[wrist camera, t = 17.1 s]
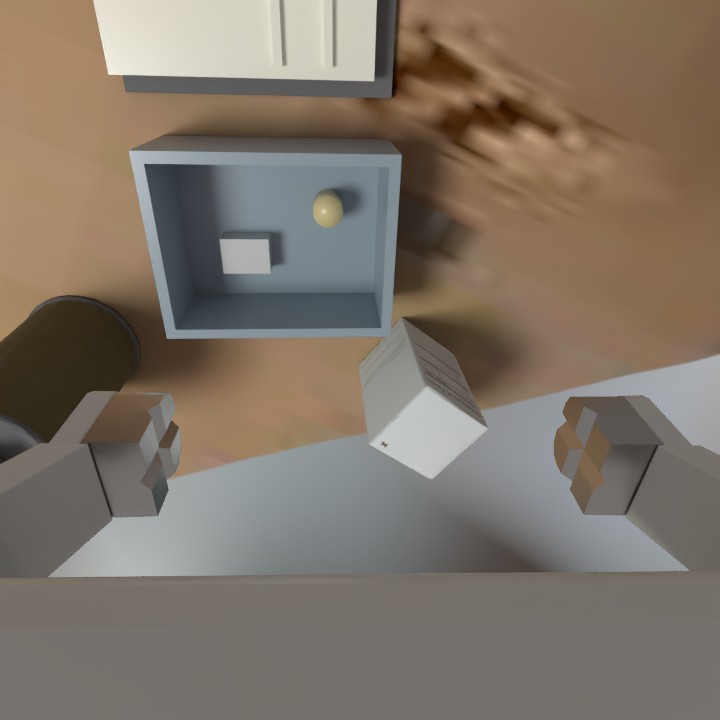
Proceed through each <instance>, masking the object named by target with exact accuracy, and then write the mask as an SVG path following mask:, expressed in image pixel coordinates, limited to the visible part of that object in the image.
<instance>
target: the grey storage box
mask: <svg viewBox="0 0 720 720" xmlns="http://www.w3.org/2000/svg"><path fill="white" fill-rule="evenodd" d="M129 154H130V159H131V164H132V169H133V174H134V179H135V184H136V189H137V194H138V199H139V203H140V208H141V213H142V218H143V223H144V228H145V233H146V238H147V243H148V248H149V253H150V258H151V263H152V268H153V273H154V277H155V282H156V287H157V292H158V297H159V302H160V307H161V312H162V317H163V322H164V327H165V332H166V337H167V339H203V338H307V337H390V336H391V320H392V304H393V288H394V272H395V256H396V240H397V225H398V209H399V193H400V177H401V161H402V154H401V153H400V152H399V151H398V150H397V149H396V147H395V146H394V145H393V144H392V143H391V142H390V140H389V139H345V138H288V137H231V136H174V135H162V136H160V137H158V138H156V139H153V140H151V141H149V142H147V143H145V144H142V145H140V146H138V147H136V148H133V149H131V150H129Z"/></svg>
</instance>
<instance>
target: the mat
mask: <svg viewBox="0 0 720 720" xmlns="http://www.w3.org/2000/svg"><path fill="white" fill-rule="evenodd" d="M395 17H396V0H377V13H376V42H375V72H374V81H341V80H302V79H263V78H225V77H186V76H147V75H123V80H124V85H125V90H126V92H146V93H189V94H232V95H276V96H319V97H362V98H391V97H392V77H393V57H394V37H395Z"/></svg>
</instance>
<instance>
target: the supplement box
mask: <svg viewBox="0 0 720 720" xmlns="http://www.w3.org/2000/svg"><path fill="white" fill-rule="evenodd" d="M359 373H360V380H361V388H362V395H363V403H364V410H365V418H366V426H367V433H368V441H369V445H371V446H373V447H375V448H377V449H378V450H380V451H382V452H384V453H385V454H387V455H389V456H391V457H393V458H394V459H396V460H398V461H399V462H401V463H403V464H405V465H406V466H408V467H410V468H412V469H413V470H415V471H417V472H419V473H420V474H422V475H424V476H426V477H428V478H430V479H433V478H434V477H435V476H436V475H437V474H438V473H440V471H442V470H443V469H444V468H445V467H446V466H447V465H448V464H449V463H451V462H452V461H453V460H454V459H455V458H456V457H457V456H458V455H460V454H461V453H462V452H463V451H464V450H465V449H466V448H467V447H468V446H470V444H472V443H473V442H474V441H475V440H476V439H477V438H479V437H480V436H481V435H482V434H483V433H484V432H485V431H486V430H488V427H487V425H486V423H485V420H484V418H483V416H482V414H481V412H480V409H479V407H478V405H477V403H476V401H475V399H474V397H473V395H472V393H471V390H470V388H469V386H468V384H467V382H466V379H465V377H464V375H463V373H462V371H461V369H460V366H459V364H458V362H457V360H456V358H455V356H454V354H453V353H452V352H450V351H449V350H447V349H446V348H445V347H443V346H442V345H440V344H439V343H438V342H436V341H435V340H433V339H432V338H431V337H429V336H428V335H426V334H425V333H424V332H422V331H421V330H420V329H418V328H417V327H415V326H414V325H413V324H411V323H410V322H408V321H407V320H406V319H404V318H401V319H400V320H399V321H398V323H397V324H396V325H395V326H394V327H393V328H392V329H391V336H390V337H384V338H383V339H382V340H381V341H380V342H379V344H378V345H377V346H376V347H375V348H374V349H373V350H372V351H371V353H370V354H369V355H368V356H367V357H366V358H365V359H364V360H363V362H362V363H361V364H360V365H359Z"/></svg>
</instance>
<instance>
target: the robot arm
mask: <svg viewBox="0 0 720 720" xmlns="http://www.w3.org/2000/svg"><path fill="white" fill-rule="evenodd" d="M175 410H176V409H175V405H174V401H173V397H172V396H171V395H170V394H169V393H158V392H123V391H119V392H116V391H92V392H90V393H87V394H86V395H85V397H84V398H83V399H82V401H81V402H80V403H79V404H78V406H77V407H76V408H75V410H74V411H73V412H72V414H71V415H70V416H69V417H68V419H67V420H66V421H65V423H64V424H63V425H62V427H61V428H60V429H59V431H58V432H57V433H56V434H55V436H54V437H53V438H52V440H51V441H50V442H49V443H40V444H38V445H36V446H34V447H32V448H31V449H29V450H27V451H25V452H23V453H21V454H19V455H17V456H15V457H13V458H11V459H9V460H8V461H6V462H4V463H2V464H0V720H720V455H718V454H716V453H714V452H712V451H710V450H708V449H706V448H704V447H702V446H692V445H691V444H690V442H689V441H688V440H687V439H686V438H685V437H684V436H683V435H682V434H681V433H680V432H679V431H678V429H677V428H676V427H675V426H674V425H673V424H672V423H671V422H670V421H669V420H668V419H667V418H666V417H665V415H664V414H663V413H662V412H661V411H660V410H659V409H658V408H657V407H656V406H655V405H654V403H652V401H651V400H650V399H649V398H646V397H644V396H642V395H641V396H617V397H570V398H569V399H568V401H567V402H566V404H565V407H564V410H563V414H564V416H565V418H566V420H567V422H565V423H564V424H563V425H562V426H561V427H560V428H558V429H557V432H556V436H555V440H554V456H555V460H556V463H557V466H558V468H559V470H560V472H561V473H562V474H563V475H565V476H566V477H568V478H569V479H571V480H572V481H573V482H572V485H571V488H570V490H571V492H572V494H573V496H574V498H575V499H576V501H577V503H578V505H579V507H580V509H581V510H582V512H583V514H586V515H626V518H627V519H628V520H629V521H630V522H632V523H633V524H634V525H635V526H636V527H638V528H639V529H640V530H641V531H643V532H644V533H645V534H646V535H647V536H649V537H650V538H651V539H652V540H654V541H655V542H656V543H657V544H658V545H660V546H661V547H662V548H663V549H665V550H666V551H667V552H668V553H669V554H671V555H672V556H673V557H674V558H676V559H677V560H678V561H679V562H680V563H682V564H683V565H684V566H685V567H687V568H688V569H689V570H690V571H666V572H664V571H661V572H660V571H659V572H658V571H657V572H560V573H558V572H555V573H554V572H551V573H440V574H439V573H438V574H437V573H435V574H348V575H347V574H344V575H343V574H340V575H244V576H141V577H49V578H48V576H49V575H50V574H51V573H53V572H54V571H55V570H56V569H57V568H58V567H59V566H60V565H62V564H63V563H64V562H65V561H66V560H67V559H68V558H70V557H71V556H72V555H73V554H74V553H75V552H76V551H77V550H79V549H80V548H81V547H82V546H83V545H84V544H85V543H86V542H88V541H89V540H90V539H91V538H92V537H93V536H94V535H96V534H97V533H98V532H99V531H100V530H101V529H102V528H104V527H105V526H106V525H107V524H108V523H109V522H110V521H111V520H112V517H143V516H158V514H159V512H160V510H161V507H162V505H163V502H164V500H165V497H166V495H167V492H168V490H169V489H168V485H167V479H168V478H169V477H171V476H172V475H173V474H175V472H176V470H177V467H178V464H179V460H180V454H181V435H180V430H179V427H178V426H177V425H176V424H175V423H174V422H173V421H171V419H172V417H173V415H174V413H175Z"/></svg>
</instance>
